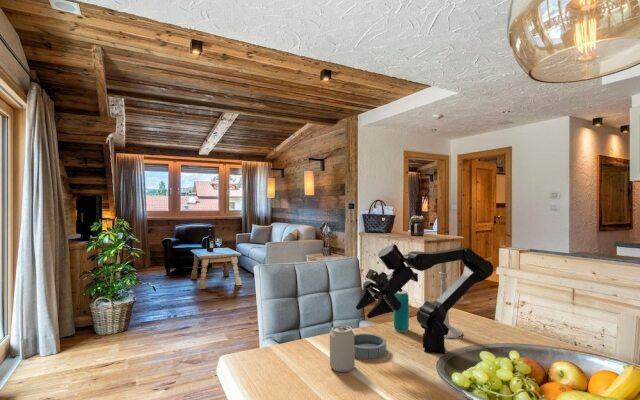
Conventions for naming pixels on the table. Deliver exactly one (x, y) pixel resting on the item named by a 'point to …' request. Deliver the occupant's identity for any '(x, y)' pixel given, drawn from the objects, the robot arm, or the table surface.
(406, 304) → the beverage can
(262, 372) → the table surface
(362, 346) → the bowl
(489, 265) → the robot arm
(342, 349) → the can
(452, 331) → the candlestick
